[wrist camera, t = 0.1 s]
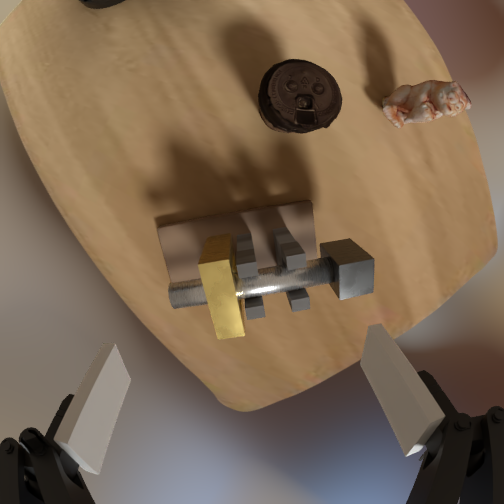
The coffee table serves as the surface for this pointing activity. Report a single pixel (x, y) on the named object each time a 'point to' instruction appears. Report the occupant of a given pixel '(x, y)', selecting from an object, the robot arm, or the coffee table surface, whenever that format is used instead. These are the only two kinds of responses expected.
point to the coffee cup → (298, 97)
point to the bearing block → (247, 245)
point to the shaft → (295, 277)
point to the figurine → (425, 102)
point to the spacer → (222, 286)
